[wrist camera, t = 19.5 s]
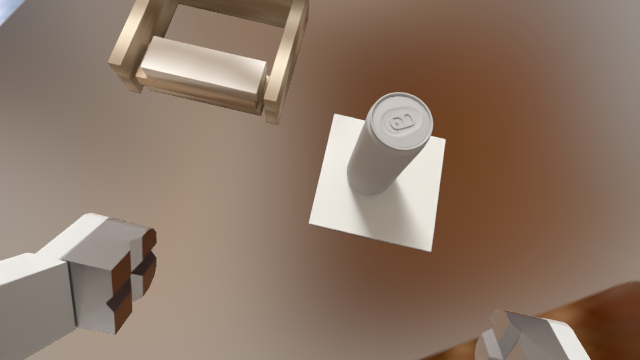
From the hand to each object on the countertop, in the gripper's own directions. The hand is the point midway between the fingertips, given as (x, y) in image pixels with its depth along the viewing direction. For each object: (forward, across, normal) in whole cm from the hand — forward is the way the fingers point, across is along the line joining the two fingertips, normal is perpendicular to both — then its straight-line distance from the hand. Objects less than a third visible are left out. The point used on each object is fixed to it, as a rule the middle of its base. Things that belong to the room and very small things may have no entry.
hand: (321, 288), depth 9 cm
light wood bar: (+33, -14, -6) cm, 36 cm away
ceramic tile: (+28, +5, -10) cm, 31 cm away
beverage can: (+28, +4, -10) cm, 30 cm away
